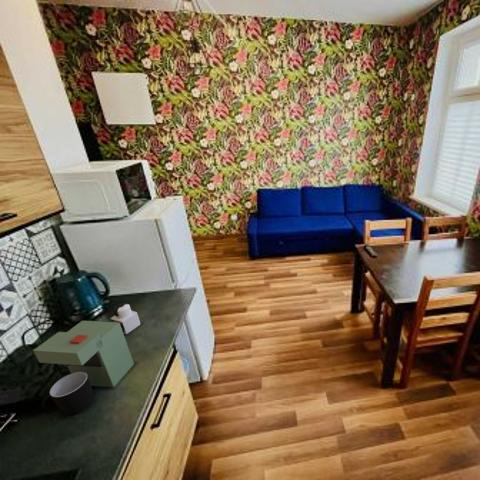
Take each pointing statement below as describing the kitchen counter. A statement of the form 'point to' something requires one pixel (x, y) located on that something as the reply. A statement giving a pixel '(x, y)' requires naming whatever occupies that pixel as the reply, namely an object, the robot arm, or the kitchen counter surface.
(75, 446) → the kitchen counter surface
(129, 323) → the medicine bottle
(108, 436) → the kitchen counter surface
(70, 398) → the mug
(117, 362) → the coffee machine
